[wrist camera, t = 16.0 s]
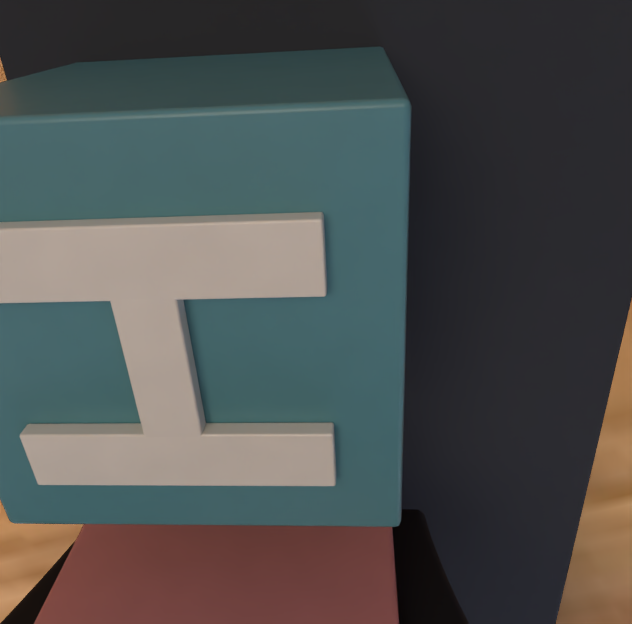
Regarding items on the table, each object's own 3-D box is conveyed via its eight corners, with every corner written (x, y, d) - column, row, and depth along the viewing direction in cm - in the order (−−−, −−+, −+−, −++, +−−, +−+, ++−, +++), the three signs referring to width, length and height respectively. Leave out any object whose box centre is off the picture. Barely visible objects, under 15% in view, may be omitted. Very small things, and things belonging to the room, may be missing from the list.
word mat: (740, -273, 7) (771, -294, 6) (520, 736, 18) (524, 758, 18) (-51, -202, 8) (-81, -215, 7) (202, 725, 19) (197, 746, 18)
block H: (384, 45, 8) (415, 103, 4) (384, 324, 11) (402, 544, 6) (74, 61, 9) (-186, 129, 5) (135, 328, 11) (-1, 539, 7)
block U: (382, 401, 11) (402, 661, 7) (385, 566, 13) (400, 840, 9) (141, 405, 11) (15, 654, 7) (183, 565, 13) (105, 827, 9)
